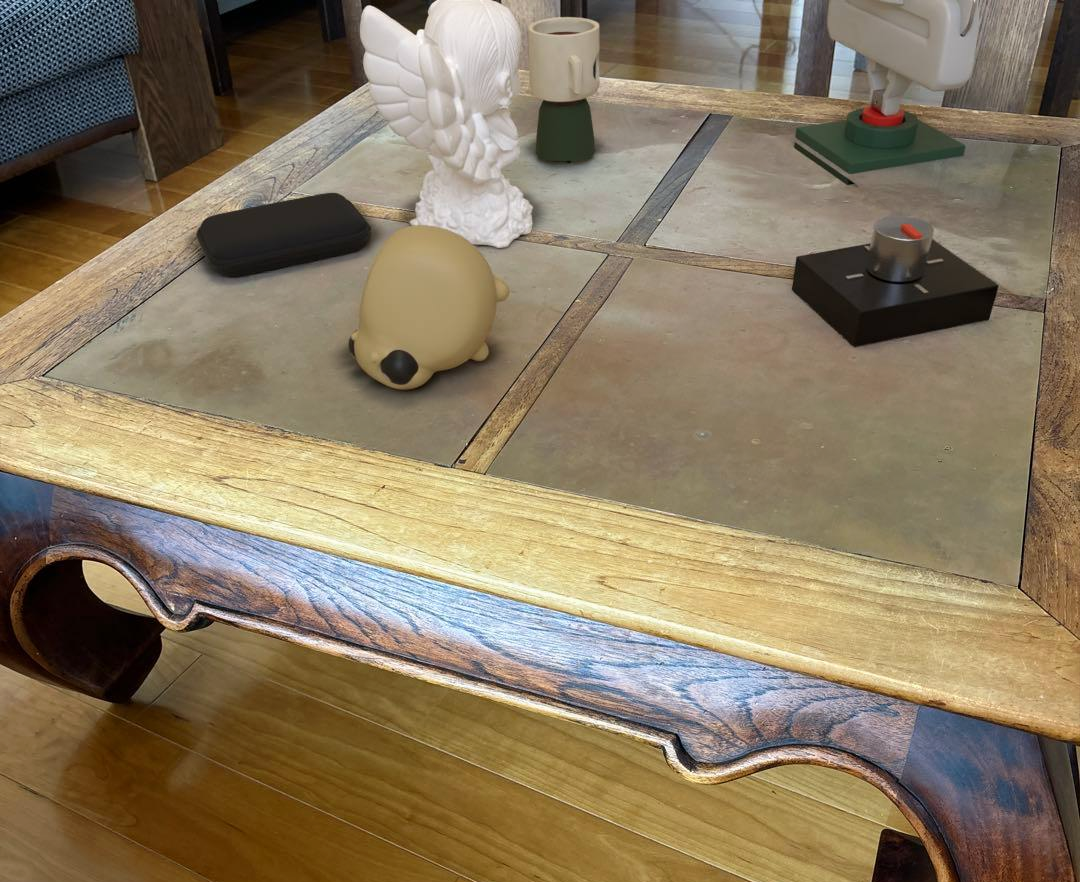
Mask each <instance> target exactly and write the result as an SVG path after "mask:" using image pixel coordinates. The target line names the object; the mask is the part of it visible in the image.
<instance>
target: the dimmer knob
mask: <svg viewBox="0 0 1080 882" xmlns="http://www.w3.org/2000/svg"><path fill="white" fill-rule="evenodd" d="M934 232H935V230H934V228H933V226H932V224H930V223H929V222H927V221H925V220H923V219H922V218H921V219H920V218H917V217H913V216H906V215H890V216H885V217H882V218H880V219H878V220H876V221H875V223H874V224H873V230H872V234H871V240H870V243H871V245H870V250H869V255H868V260H867V265H866V267H867V270H868V272H869V273H870V274H872V275H873V276H875V277H877V278H880V279H883V280H886V281H892V282H909V281H914V280H917V279H919V278H920V277H922V276H923V274H924V271H925V267H926V262H927V258H928V254H929V250H930V245H931V241H932V239H933V236H934Z"/></svg>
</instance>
